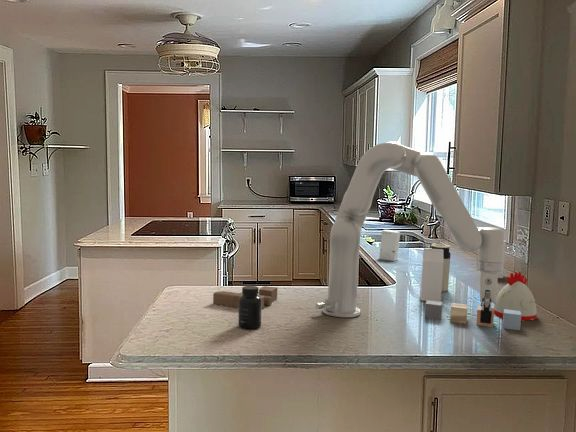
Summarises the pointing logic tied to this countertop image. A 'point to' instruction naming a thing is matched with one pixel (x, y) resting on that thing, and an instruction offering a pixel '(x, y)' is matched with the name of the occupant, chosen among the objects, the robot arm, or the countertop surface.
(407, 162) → the robot arm
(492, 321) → the terracotta block
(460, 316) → the maple block
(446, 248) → the travel mug
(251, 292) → the supplement bottle
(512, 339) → the countertop surface
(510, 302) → the kitchen timer
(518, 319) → the slate block
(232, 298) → the wooden block set
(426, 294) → the milk carton
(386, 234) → the skincare box
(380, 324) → the countertop surface
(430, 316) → the charcoal block
